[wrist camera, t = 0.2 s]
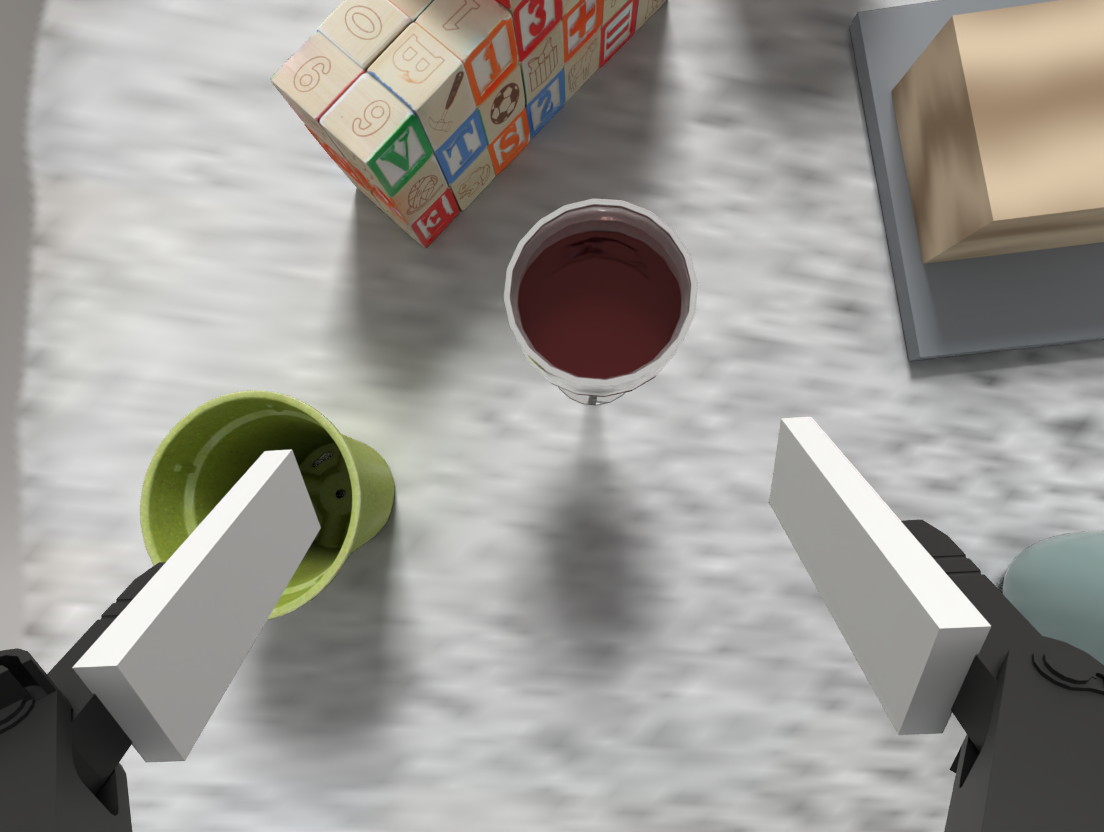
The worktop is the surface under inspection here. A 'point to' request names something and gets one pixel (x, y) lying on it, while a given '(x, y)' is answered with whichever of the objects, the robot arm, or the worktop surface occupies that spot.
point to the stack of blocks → (445, 91)
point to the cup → (1062, 589)
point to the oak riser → (1007, 131)
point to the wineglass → (600, 297)
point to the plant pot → (227, 454)
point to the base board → (975, 283)
